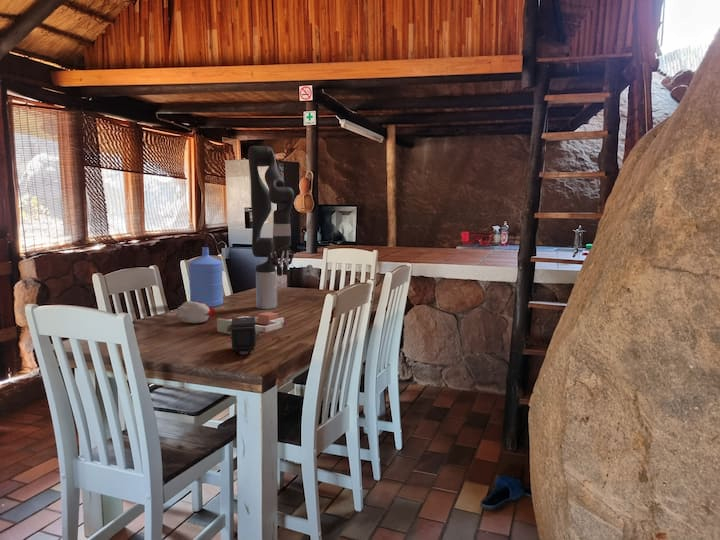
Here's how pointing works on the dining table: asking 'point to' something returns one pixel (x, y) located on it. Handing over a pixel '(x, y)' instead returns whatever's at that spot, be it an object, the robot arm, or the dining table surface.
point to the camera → (243, 334)
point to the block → (266, 317)
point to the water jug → (206, 280)
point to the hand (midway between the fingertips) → (282, 275)
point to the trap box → (271, 325)
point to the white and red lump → (194, 312)
